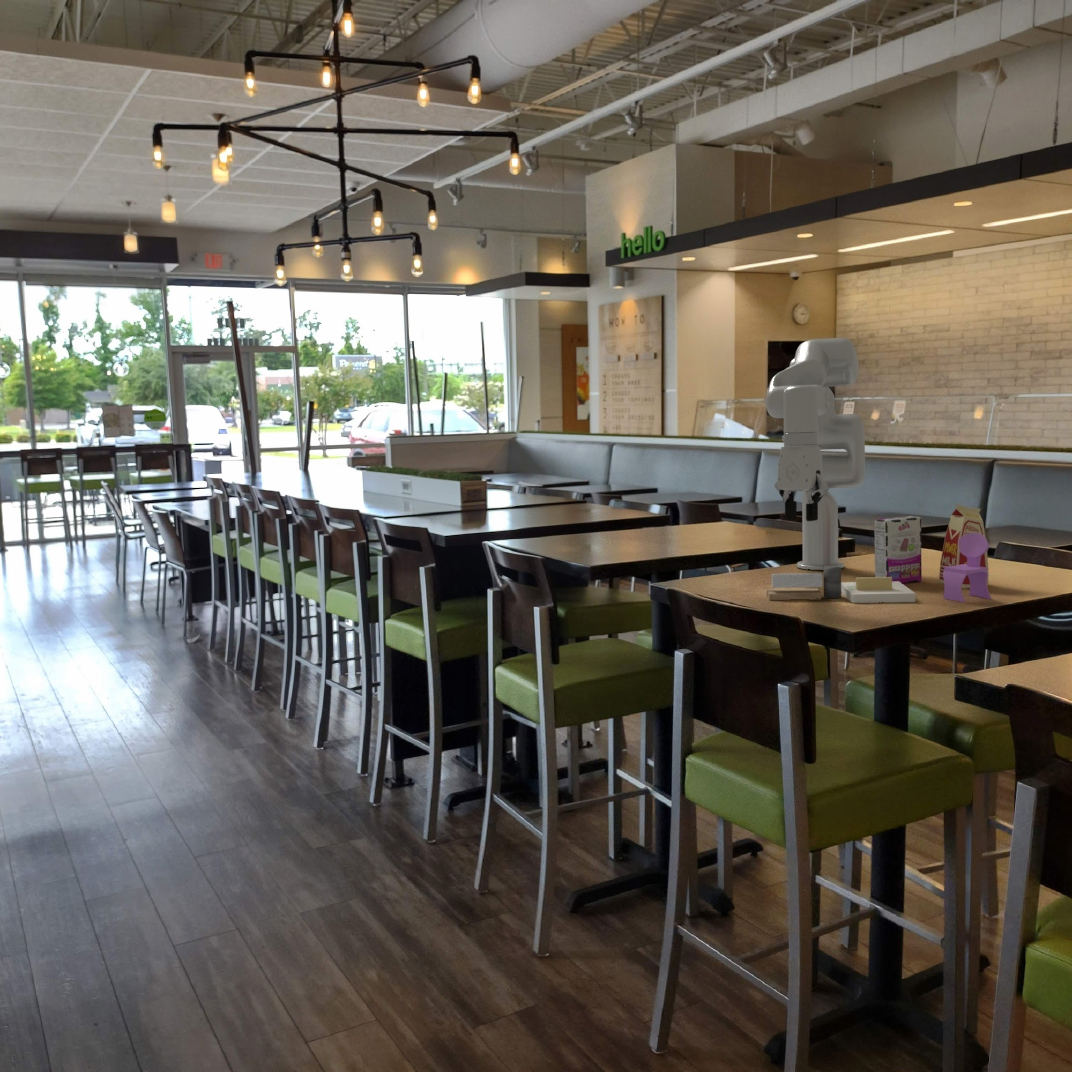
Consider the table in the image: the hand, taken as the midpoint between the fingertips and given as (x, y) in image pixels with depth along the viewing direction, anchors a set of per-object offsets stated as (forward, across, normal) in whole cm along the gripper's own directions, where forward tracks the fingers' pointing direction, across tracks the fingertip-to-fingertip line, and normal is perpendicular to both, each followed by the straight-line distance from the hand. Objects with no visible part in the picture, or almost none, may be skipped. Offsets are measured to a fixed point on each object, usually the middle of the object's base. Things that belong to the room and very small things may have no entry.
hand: (801, 518), depth 232 cm
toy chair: (+20, +22, +30) cm, 42 cm away
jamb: (+20, -4, +6) cm, 21 cm away
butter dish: (+20, +6, +18) cm, 27 cm away
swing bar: (+17, -5, +4) cm, 18 cm away
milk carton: (+20, +11, +46) cm, 51 cm away
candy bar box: (+20, -2, +37) cm, 42 cm away
